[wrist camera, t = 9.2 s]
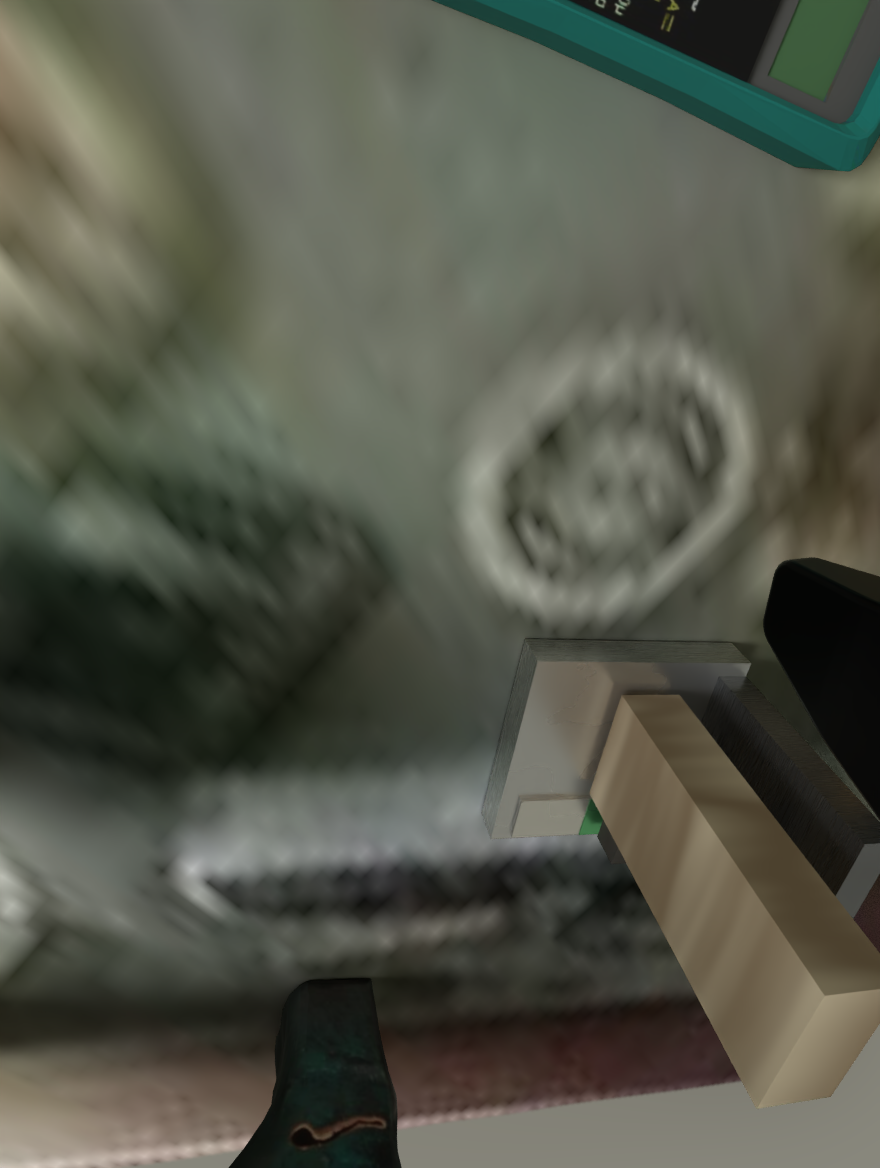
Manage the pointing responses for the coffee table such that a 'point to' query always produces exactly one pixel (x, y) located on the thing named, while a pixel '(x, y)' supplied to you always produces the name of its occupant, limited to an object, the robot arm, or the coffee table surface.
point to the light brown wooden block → (736, 904)
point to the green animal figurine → (328, 1085)
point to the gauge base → (724, 707)
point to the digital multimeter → (729, 63)
